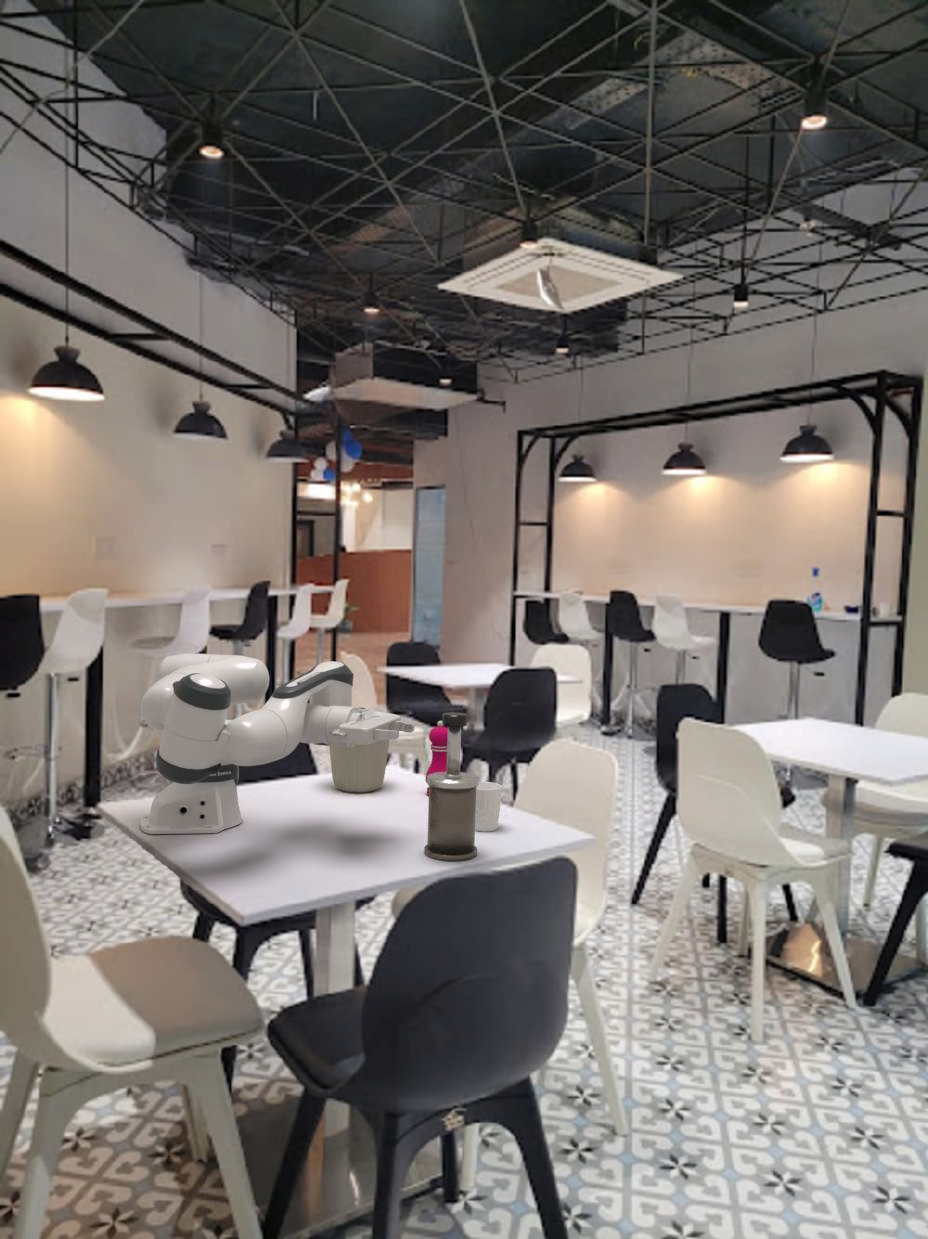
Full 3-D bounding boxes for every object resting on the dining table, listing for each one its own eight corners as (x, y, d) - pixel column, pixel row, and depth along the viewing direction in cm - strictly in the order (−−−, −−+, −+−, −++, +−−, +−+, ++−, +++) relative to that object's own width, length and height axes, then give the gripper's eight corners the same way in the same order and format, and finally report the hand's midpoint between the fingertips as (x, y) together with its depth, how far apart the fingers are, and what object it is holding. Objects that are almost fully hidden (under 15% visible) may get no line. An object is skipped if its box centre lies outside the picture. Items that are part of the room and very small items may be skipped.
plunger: (445, 777, 187) (447, 716, 186) (437, 771, 192) (439, 712, 191) (469, 775, 189) (470, 716, 188) (460, 770, 194) (462, 712, 193)
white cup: (504, 825, 214) (505, 783, 213) (494, 834, 206) (496, 791, 206) (472, 821, 216) (474, 780, 216) (462, 830, 209) (463, 787, 208)
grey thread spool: (434, 863, 184) (436, 781, 183) (417, 847, 195) (419, 769, 194) (485, 858, 188) (487, 778, 187) (465, 843, 199) (468, 766, 198)
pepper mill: (453, 792, 244) (455, 719, 243) (450, 799, 237) (452, 723, 236) (426, 791, 245) (429, 718, 244) (423, 797, 238) (425, 722, 237)
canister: (378, 779, 258) (380, 705, 256) (401, 793, 241) (403, 715, 240) (316, 783, 250) (318, 707, 249) (336, 799, 233) (338, 718, 232)
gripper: (326, 718, 187) (388, 724, 183) (365, 706, 207) (421, 710, 203) (325, 749, 188) (387, 754, 184) (364, 733, 207) (420, 738, 203)
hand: (405, 731), depth 193 cm, fingers open, 8 cm apart
